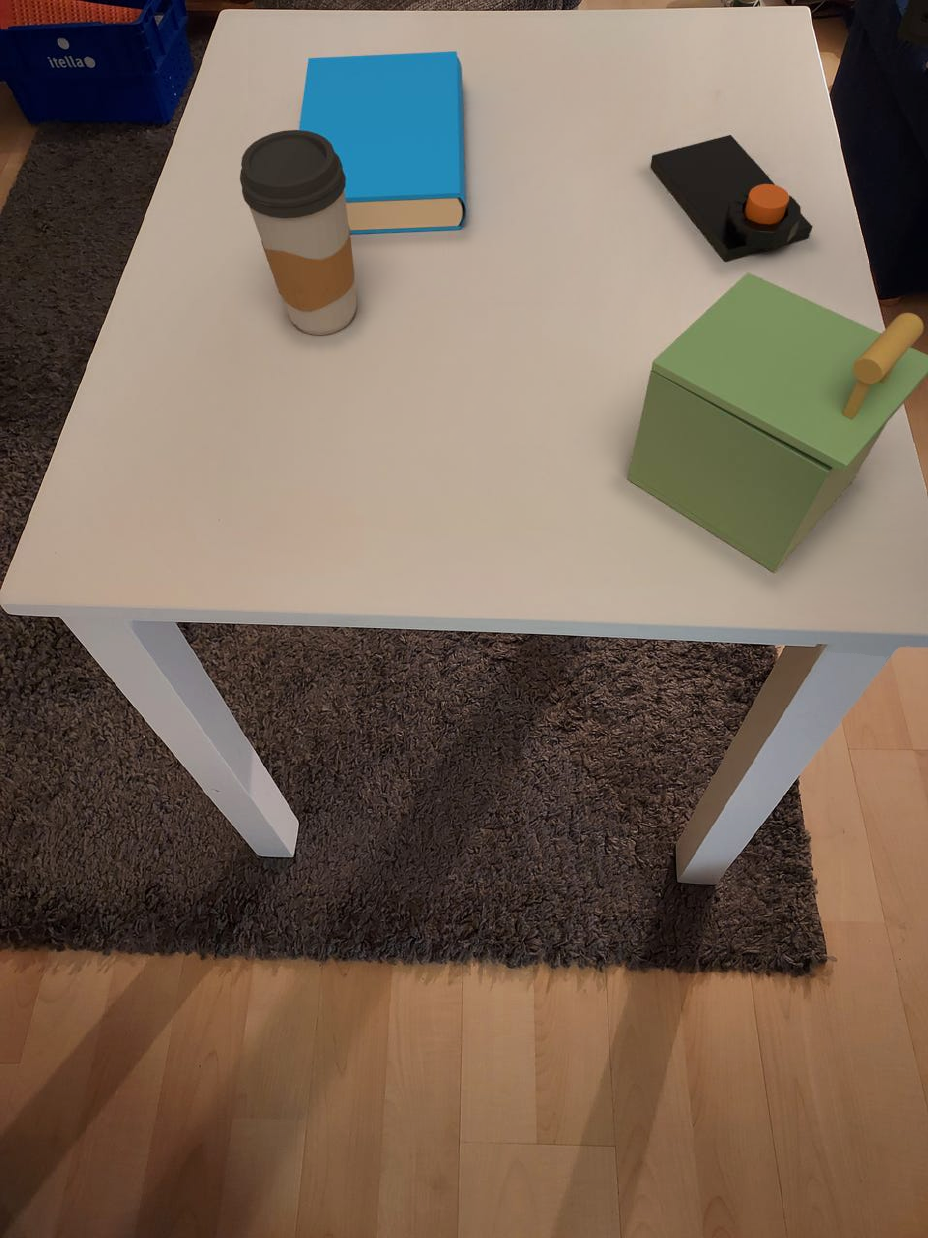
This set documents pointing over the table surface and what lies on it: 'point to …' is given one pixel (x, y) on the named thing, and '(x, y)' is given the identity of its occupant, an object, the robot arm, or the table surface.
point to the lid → (798, 368)
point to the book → (393, 137)
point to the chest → (732, 473)
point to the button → (766, 204)
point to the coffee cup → (303, 226)
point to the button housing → (725, 197)
